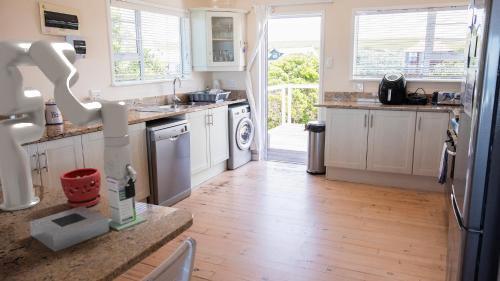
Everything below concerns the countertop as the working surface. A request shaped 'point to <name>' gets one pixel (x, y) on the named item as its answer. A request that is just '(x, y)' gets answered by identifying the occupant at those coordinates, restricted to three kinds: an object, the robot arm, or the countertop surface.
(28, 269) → the countertop surface
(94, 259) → the countertop surface
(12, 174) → the robot arm
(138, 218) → the rubber mat
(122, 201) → the syrup box
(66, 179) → the plant pot
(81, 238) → the socket block
